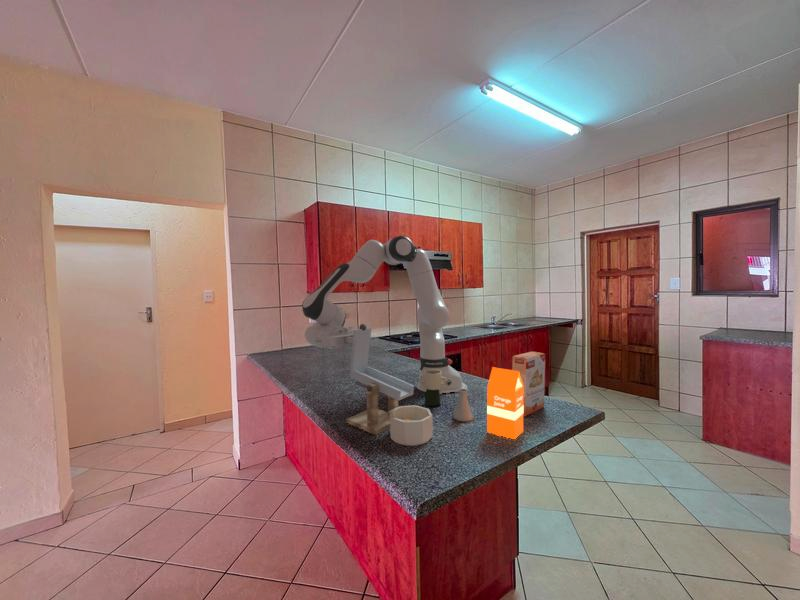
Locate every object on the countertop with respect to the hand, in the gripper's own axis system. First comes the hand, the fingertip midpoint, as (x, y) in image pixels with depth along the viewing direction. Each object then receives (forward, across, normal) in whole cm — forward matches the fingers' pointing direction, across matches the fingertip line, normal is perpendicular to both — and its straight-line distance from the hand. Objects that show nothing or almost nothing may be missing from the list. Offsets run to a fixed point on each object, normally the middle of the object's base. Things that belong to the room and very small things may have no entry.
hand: (360, 340), depth 111 cm
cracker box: (+43, +44, +28) cm, 68 cm away
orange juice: (+43, +22, +28) cm, 56 cm away
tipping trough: (+8, 0, +16) cm, 18 cm away
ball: (+20, +1, +25) cm, 32 cm away
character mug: (+12, +27, +28) cm, 40 cm away
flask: (+27, +23, +28) cm, 45 cm away
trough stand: (+6, 0, +28) cm, 28 cm away
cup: (+22, +1, +28) cm, 35 cm away
